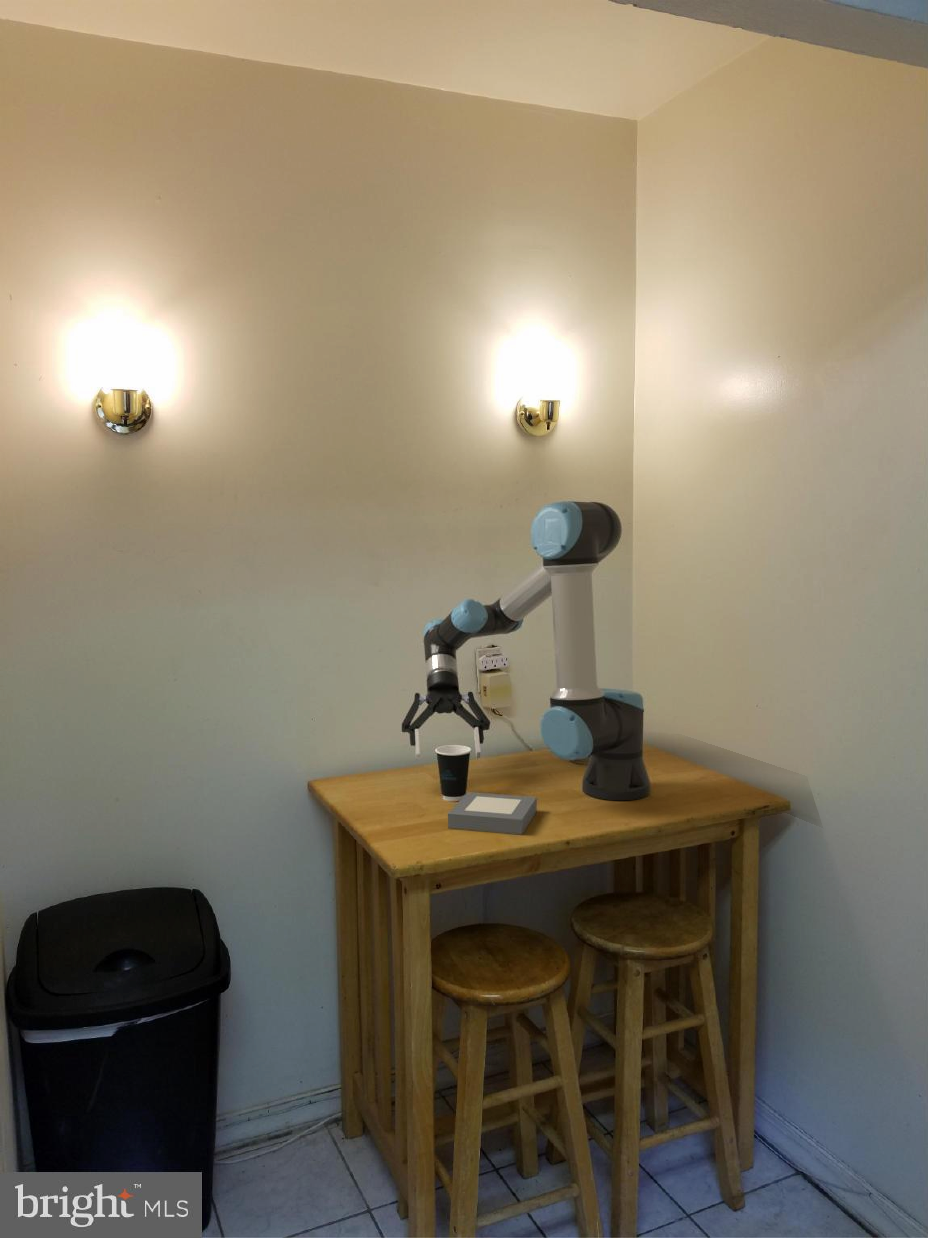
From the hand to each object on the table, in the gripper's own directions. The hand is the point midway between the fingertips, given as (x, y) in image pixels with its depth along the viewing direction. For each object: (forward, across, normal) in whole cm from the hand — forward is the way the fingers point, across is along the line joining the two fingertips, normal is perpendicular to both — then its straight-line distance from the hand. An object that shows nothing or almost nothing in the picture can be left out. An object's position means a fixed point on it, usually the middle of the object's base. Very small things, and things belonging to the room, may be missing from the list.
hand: (448, 756), depth 206 cm
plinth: (+20, -8, +8) cm, 22 cm away
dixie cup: (+9, -1, -4) cm, 9 cm away
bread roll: (-11, -37, -23) cm, 45 cm away
